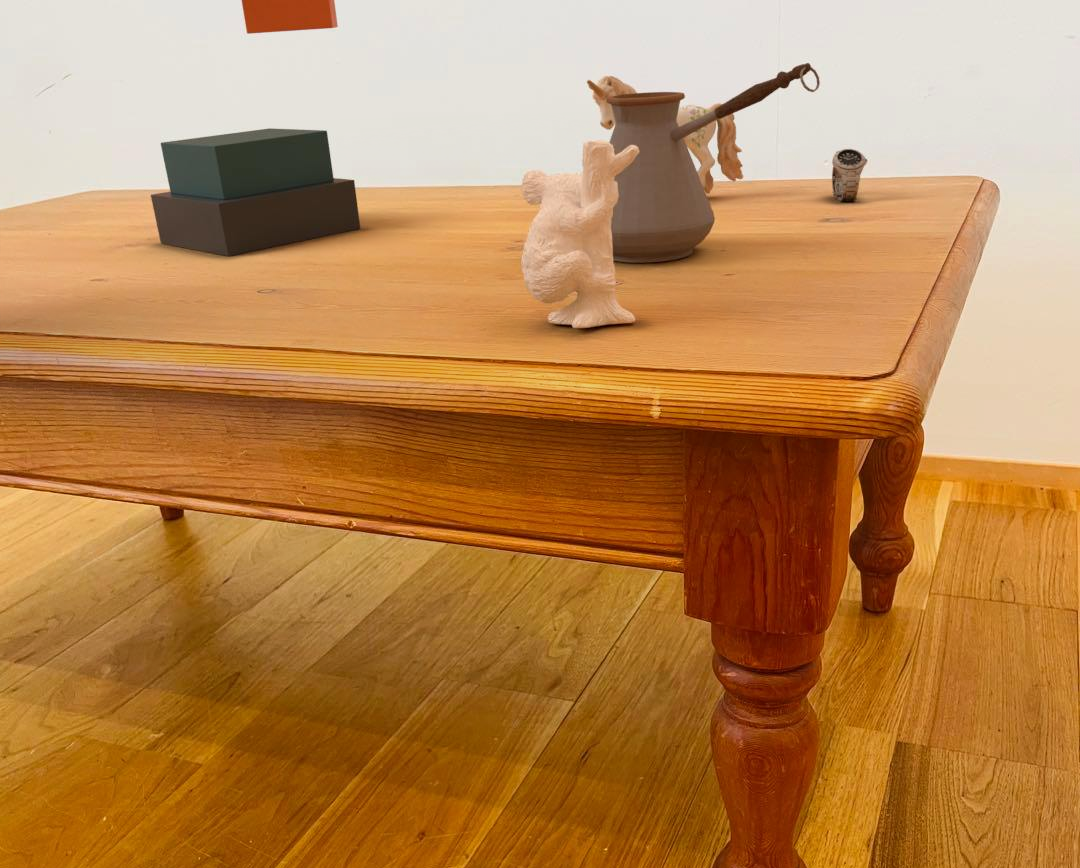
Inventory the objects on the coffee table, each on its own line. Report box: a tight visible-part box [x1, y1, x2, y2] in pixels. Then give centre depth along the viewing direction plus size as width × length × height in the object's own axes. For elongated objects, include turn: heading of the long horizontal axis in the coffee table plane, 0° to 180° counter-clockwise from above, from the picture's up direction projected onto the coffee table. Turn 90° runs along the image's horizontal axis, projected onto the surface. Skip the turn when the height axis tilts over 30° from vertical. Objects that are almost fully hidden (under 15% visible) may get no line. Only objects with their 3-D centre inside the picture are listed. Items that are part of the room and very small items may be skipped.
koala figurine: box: [520, 139, 639, 329], centre depth 71 cm, size 8×7×12 cm
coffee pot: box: [607, 62, 821, 263], centre depth 87 cm, size 21×12×15 cm, turn 47°
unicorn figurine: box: [586, 75, 744, 195], centre depth 114 cm, size 7×20×13 cm, turn 117°
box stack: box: [150, 127, 361, 257], centre depth 112 cm, size 16×14×10 cm
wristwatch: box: [831, 148, 868, 203], centre depth 112 cm, size 4×6×5 cm, turn 178°
